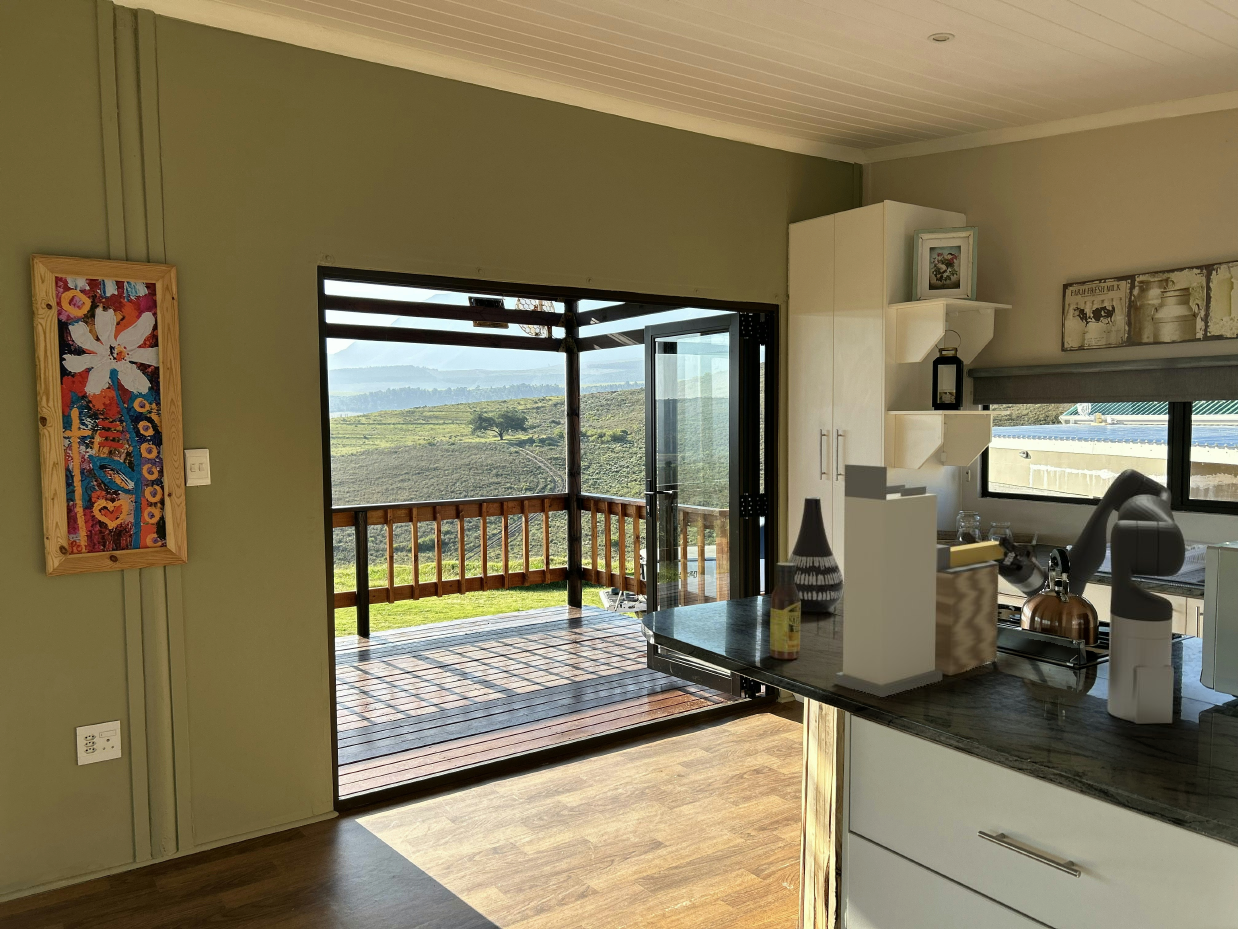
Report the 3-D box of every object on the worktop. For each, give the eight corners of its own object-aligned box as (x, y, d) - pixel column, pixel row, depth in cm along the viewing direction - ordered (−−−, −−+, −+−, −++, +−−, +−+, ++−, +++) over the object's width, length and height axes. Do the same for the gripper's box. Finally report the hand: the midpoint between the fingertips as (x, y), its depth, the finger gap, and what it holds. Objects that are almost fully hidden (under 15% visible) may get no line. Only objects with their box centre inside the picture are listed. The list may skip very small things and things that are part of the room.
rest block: (950, 675, 181) (951, 571, 180) (911, 665, 188) (912, 565, 187) (996, 661, 191) (998, 562, 189) (958, 652, 198) (959, 557, 197)
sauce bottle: (793, 662, 191) (793, 567, 190) (765, 658, 195) (765, 564, 193) (804, 655, 197) (805, 562, 196) (777, 651, 200) (777, 560, 199)
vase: (779, 604, 247) (779, 494, 245) (840, 605, 245) (841, 494, 243) (781, 617, 231) (782, 500, 230) (846, 619, 229) (847, 501, 227)
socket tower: (882, 698, 168) (885, 467, 165) (835, 683, 176) (837, 464, 174) (942, 680, 178) (945, 463, 175) (895, 667, 187) (897, 460, 184)
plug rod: (937, 570, 181) (938, 548, 181) (918, 567, 185) (919, 545, 185) (1008, 558, 195) (1008, 537, 195) (989, 555, 199) (989, 535, 199)
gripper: (994, 549, 209) (958, 518, 200) (1055, 557, 197) (1019, 525, 189) (984, 579, 207) (947, 549, 198) (1045, 589, 196) (1008, 558, 187)
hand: (982, 537), depth 193 cm, fingers open, 8 cm apart
